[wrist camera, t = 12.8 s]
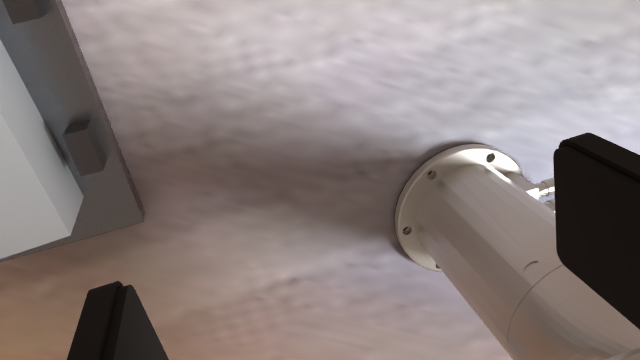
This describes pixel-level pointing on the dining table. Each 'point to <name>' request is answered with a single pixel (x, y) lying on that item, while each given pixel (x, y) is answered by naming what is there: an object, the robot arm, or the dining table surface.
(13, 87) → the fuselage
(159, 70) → the dining table surface
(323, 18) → the dining table surface
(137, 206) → the cradle
